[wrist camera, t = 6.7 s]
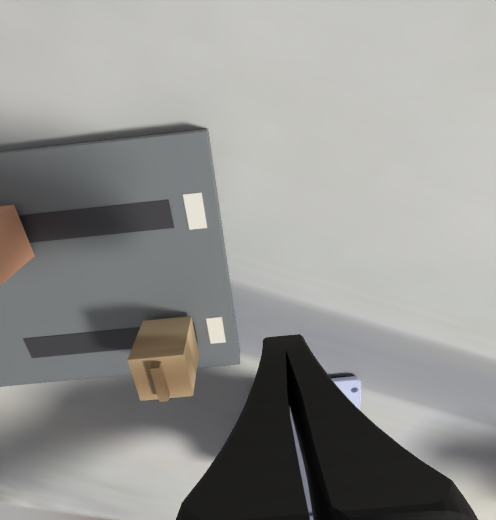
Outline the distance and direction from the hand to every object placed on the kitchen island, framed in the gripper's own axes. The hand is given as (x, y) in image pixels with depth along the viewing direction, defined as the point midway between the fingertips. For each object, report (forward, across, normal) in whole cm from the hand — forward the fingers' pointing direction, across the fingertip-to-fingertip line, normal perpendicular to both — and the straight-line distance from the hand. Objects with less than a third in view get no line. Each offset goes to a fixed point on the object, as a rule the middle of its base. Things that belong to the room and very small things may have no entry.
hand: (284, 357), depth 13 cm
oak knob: (+9, +6, +5) cm, 12 cm away
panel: (+10, +12, 0) cm, 16 cm away
